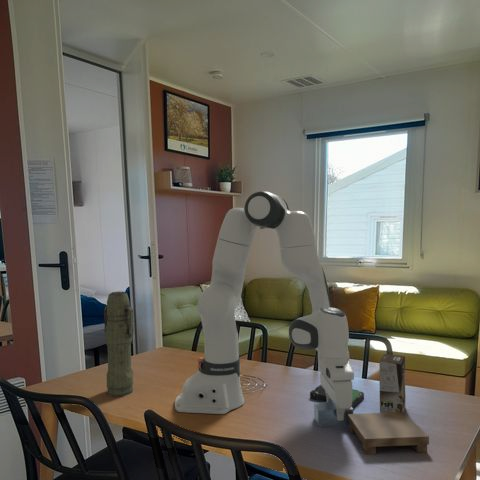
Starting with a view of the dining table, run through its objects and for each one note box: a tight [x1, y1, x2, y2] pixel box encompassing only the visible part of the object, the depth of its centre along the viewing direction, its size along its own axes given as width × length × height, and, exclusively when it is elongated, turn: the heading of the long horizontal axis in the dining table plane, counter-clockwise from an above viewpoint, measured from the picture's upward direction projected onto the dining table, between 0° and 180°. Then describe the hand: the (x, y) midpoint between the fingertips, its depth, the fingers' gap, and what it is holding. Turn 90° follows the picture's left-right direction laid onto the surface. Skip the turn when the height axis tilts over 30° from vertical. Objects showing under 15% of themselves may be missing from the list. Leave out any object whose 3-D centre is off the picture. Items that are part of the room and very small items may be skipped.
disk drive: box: [309, 384, 365, 409], centre depth 137 cm, size 10×3×15 cm
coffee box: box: [379, 353, 406, 413], centre depth 126 cm, size 9×6×16 cm
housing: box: [313, 401, 354, 428], centre depth 119 cm, size 10×6×5 cm, turn 92°
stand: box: [348, 411, 430, 455], centre depth 109 cm, size 16×14×4 cm
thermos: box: [103, 291, 134, 398], centre depth 145 cm, size 9×12×35 cm
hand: (335, 412), depth 120 cm, fingers open, 8 cm apart
